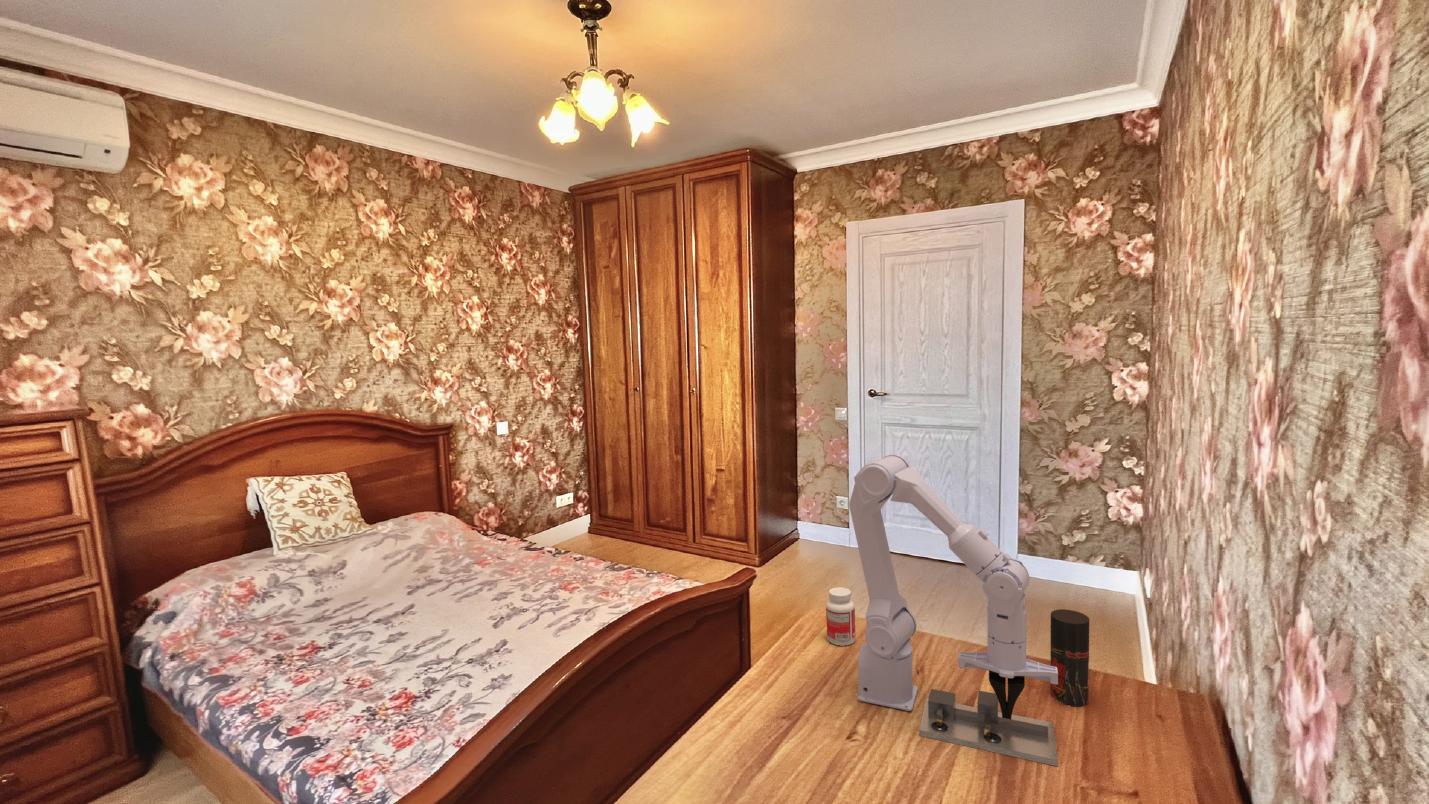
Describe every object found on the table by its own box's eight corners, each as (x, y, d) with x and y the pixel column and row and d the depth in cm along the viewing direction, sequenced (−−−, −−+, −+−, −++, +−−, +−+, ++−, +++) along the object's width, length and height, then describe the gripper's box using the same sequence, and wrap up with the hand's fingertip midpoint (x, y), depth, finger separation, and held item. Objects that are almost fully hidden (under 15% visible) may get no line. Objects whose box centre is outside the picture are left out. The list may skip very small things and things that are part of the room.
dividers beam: (926, 726, 103) (926, 708, 103) (931, 704, 109) (930, 688, 108) (1049, 752, 95) (1049, 734, 95) (1047, 728, 101) (1047, 710, 101)
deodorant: (1094, 708, 107) (1095, 624, 106) (1056, 705, 109) (1057, 623, 107) (1081, 689, 113) (1081, 610, 112) (1045, 687, 114) (1046, 608, 113)
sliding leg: (976, 733, 99) (976, 711, 99) (978, 711, 105) (978, 690, 105) (997, 738, 98) (997, 715, 98) (998, 715, 104) (998, 694, 104)
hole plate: (919, 735, 102) (919, 729, 102) (926, 703, 111) (926, 697, 111) (1057, 766, 93) (1057, 759, 93) (1053, 728, 102) (1053, 722, 102)
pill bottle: (842, 631, 140) (840, 583, 139) (861, 641, 135) (860, 592, 134) (821, 638, 137) (819, 590, 136) (840, 649, 132) (839, 599, 131)
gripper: (956, 639, 100) (957, 719, 101) (1059, 655, 94) (1058, 740, 95) (959, 620, 106) (960, 696, 107) (1056, 634, 100) (1056, 714, 101)
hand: (1006, 715), depth 102 cm, fingers closed
